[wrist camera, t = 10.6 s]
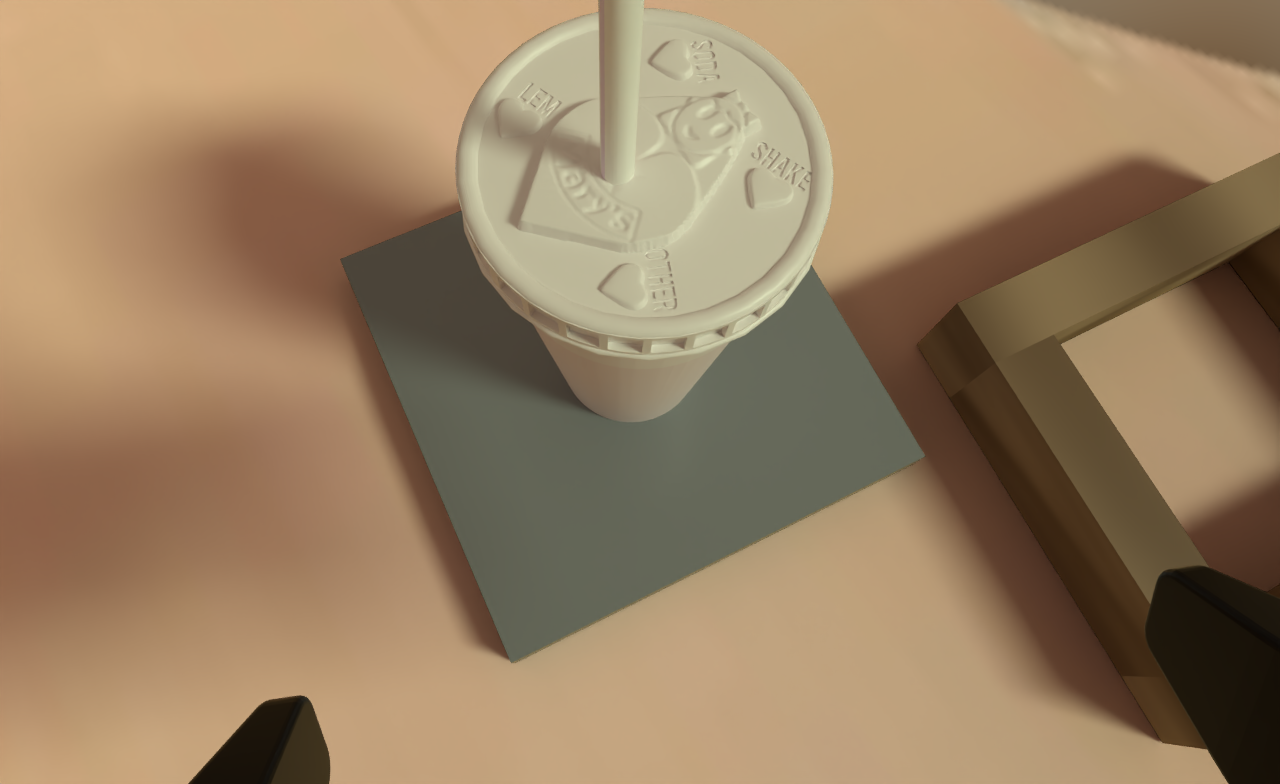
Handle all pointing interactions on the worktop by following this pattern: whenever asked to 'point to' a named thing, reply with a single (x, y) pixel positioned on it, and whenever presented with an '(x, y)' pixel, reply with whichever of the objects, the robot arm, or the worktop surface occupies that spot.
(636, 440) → the coaster
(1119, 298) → the holder
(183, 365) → the worktop surface
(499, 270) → the smoothie
